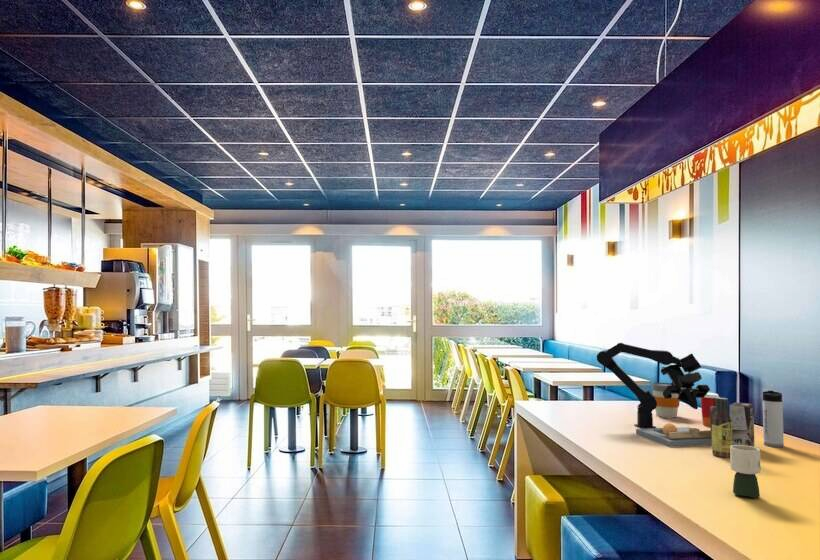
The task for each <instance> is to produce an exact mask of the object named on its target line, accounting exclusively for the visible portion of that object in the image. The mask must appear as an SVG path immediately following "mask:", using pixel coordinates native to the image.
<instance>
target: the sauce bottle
mask: <svg viewBox="0 0 820 560" xmlns="http://www.w3.org/2000/svg"><path fill="white" fill-rule="evenodd" d="M715 402H716V411H715V413H714V415H713V416H712V445H711V450H712V455H713V456H716V457H720V458H730V446H731V445H732V421H731V418H730V412H729V398H726V397H719V398H715Z"/></svg>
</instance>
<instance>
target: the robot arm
mask: <svg viewBox="0 0 820 560" xmlns="http://www.w3.org/2000/svg"><path fill="white" fill-rule="evenodd" d="M621 353H624V354H629V355H634V356H636V357H641V358H647V359H650V360H652V361H655V362H656V363H659V364H661V365H664V366H662V367H661V369H660V373H661V374H662V375H663V376H665V375H668V378H669V379H670V381H671V382H670V383H671V385H668V386H667V387H666V389H665V390H664V391H663V396H664V398H665V399H667V398H671V397H672V395H671V394H678V396H679V397H678V398H677V399H678V400H680V402H683V403H684V404H686V405H688V406H690V407H691V408H692V409H694V410H697V409H698V408H699V406H698V401H697V400H698V398H700V399H701V398H703V397H704V396H705V395H706V394H707V393H710V391H711V388H710V387H709V384H698V385H696V387H694V386H695V383H697V382H699V381H700V380H702V379H703V378H702V375H701V374H700V372H698V371H697V370H699V369H702V366H701V363H700V362H699V360H697V359H696V357H695V356H694V354H693V353H689V354H688V355H686V356H685V357H682V358H679V357H676V356H674V355H673V354H672V353H671V352H670V351H669V350H663V349H662V350H661V349H658V350H657V349H649V348H644V347H640V346H636V345H635V346H634V345H630V344H626V343H624V342H618V343H617V344H616V345H613V346H612V347H610V348H609V349H606V350H599V352H598V353H597V355H596V360H597V361H596V362H598V363H599V364H601V365H602V366H604V368H606V369H607V370H609V371H611V372H612V373H613V374H614V375H615V376H616V377H617V378H618V379H619V380H620V381H621V382H622V383H623V384H624V386H626V387H627V388H628V389H629V390H630V391H631V392H632V393H633V394H634V395H635V396H636V398H637V400H638V401H639V404H638V405H637V407H636V408H637V411H636V412H637V413H636V414H637V415H636V416H637V417H636V419H637V423H634V424H633V426H635V427H638V428H639V429H649V428H657V426H655V425H654V420H653V419H654V418H653V413H652V412H653V411H654V410H655V408H656V407H657V401H656V399H655V395H653V392H651V391H650V390H649V389H648V388H647V389H646V390H645V389H643V388H641V387H640V385H639V384H638V383H636V381H635V380H633V378H631V376H629V374H628V373H626V372H625V370H623V368H621V367H620V366H619V364H617V362H616V360H615V359H614V357H616V356H617V355H619V354H621ZM695 371H696V372H695Z"/></svg>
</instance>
